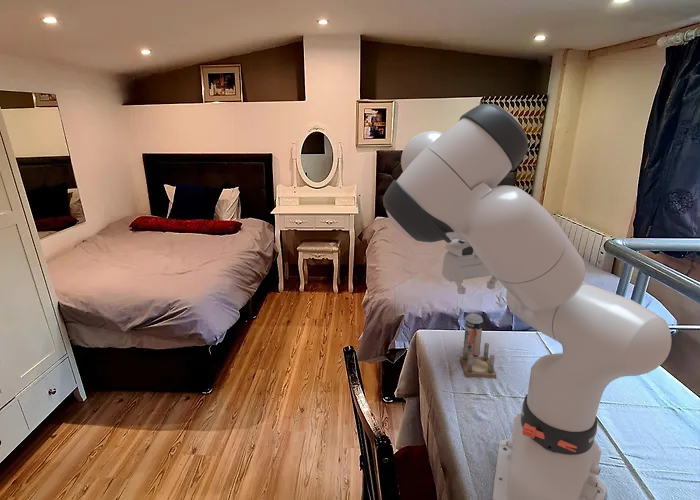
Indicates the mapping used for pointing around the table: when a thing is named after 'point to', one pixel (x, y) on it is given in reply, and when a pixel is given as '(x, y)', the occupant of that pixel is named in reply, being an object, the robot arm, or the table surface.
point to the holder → (478, 364)
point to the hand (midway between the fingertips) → (476, 290)
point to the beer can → (473, 333)
